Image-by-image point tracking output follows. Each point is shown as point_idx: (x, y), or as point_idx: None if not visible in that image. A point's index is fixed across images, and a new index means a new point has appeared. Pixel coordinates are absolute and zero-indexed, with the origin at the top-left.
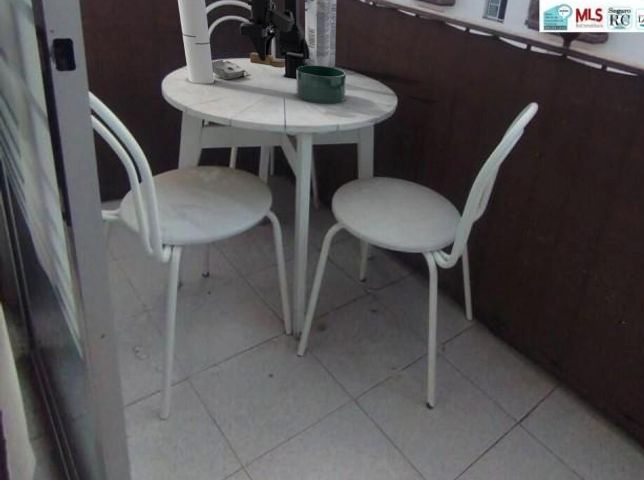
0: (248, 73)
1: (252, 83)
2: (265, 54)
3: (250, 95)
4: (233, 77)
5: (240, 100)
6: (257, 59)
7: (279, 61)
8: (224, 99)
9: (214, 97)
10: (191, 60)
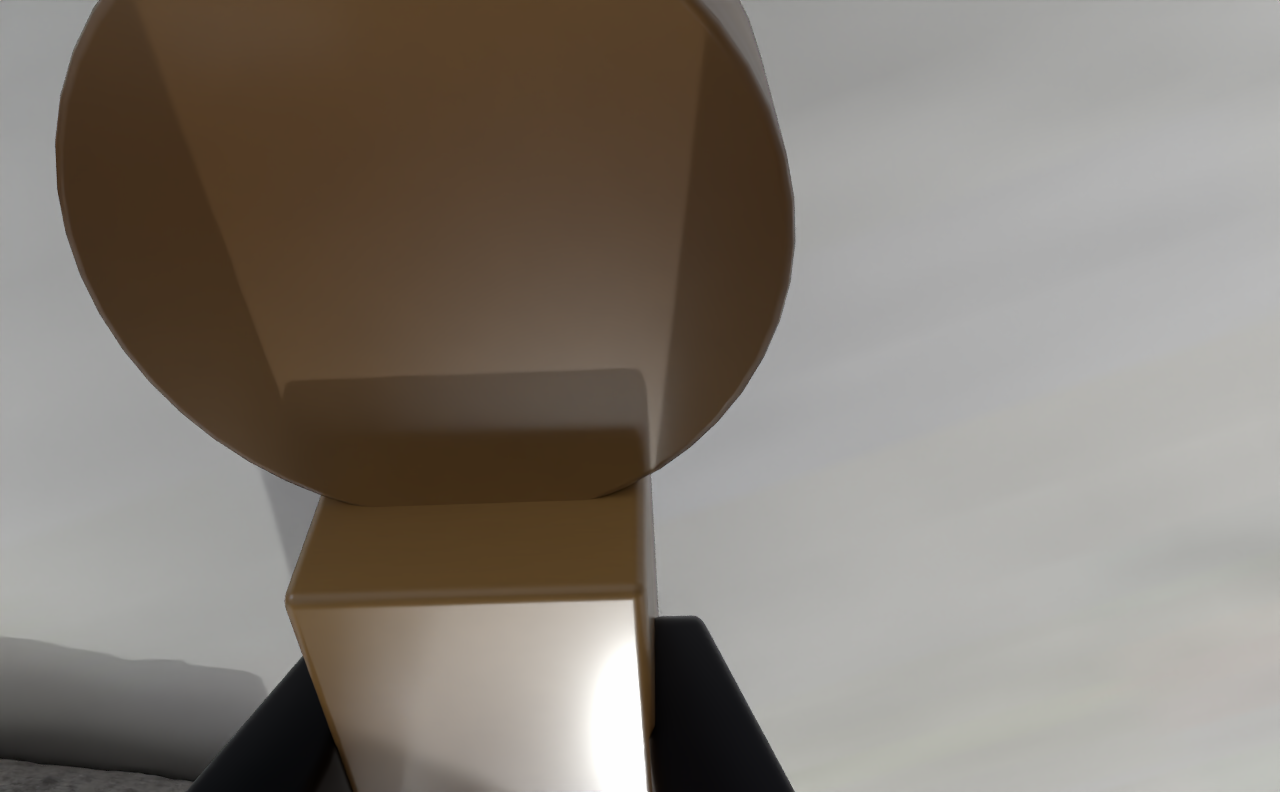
0: None
1: (117, 557)
2: (684, 782)
3: (806, 340)
4: (127, 778)
5: (1187, 343)
6: None
7: (696, 72)
8: (1209, 512)
9: (1150, 619)
10: None
